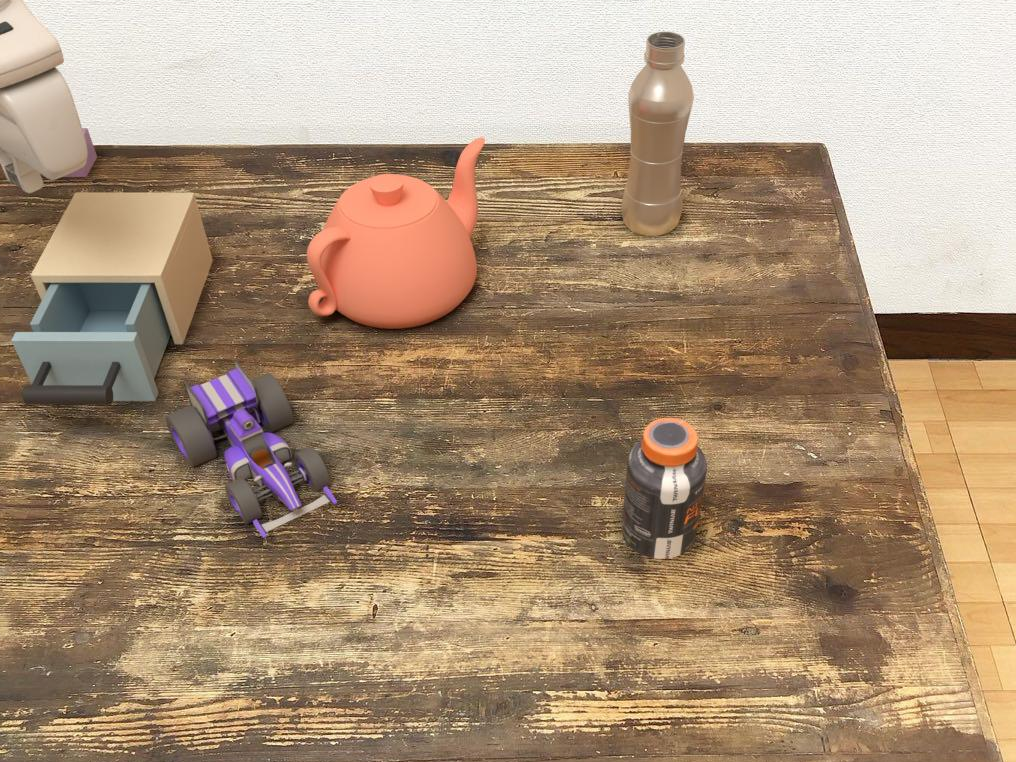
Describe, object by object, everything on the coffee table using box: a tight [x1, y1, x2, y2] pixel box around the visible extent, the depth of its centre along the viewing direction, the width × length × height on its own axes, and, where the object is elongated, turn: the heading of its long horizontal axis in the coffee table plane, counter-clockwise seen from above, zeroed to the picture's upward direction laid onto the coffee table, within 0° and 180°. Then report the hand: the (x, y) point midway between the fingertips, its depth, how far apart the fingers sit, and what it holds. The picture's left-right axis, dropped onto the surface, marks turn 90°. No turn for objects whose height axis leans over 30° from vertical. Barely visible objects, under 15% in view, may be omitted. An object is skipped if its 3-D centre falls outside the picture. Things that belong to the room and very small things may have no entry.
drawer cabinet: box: [30, 192, 214, 345], centre depth 102 cm, size 14×12×9 cm
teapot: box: [306, 136, 486, 330], centre depth 103 cm, size 22×16×12 cm
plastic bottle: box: [620, 31, 695, 237], centre depth 107 cm, size 6×7×20 cm
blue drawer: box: [10, 283, 172, 406], centre depth 95 cm, size 17×10×7 cm, turn 0°
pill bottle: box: [621, 417, 708, 560], centre depth 81 cm, size 6×6×11 cm
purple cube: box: [62, 127, 98, 178], centre depth 121 cm, size 4×4×4 cm
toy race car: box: [165, 360, 339, 539], centre depth 88 cm, size 10×15×6 cm, turn 35°
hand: (26, 185), depth 93 cm, fingers closed
